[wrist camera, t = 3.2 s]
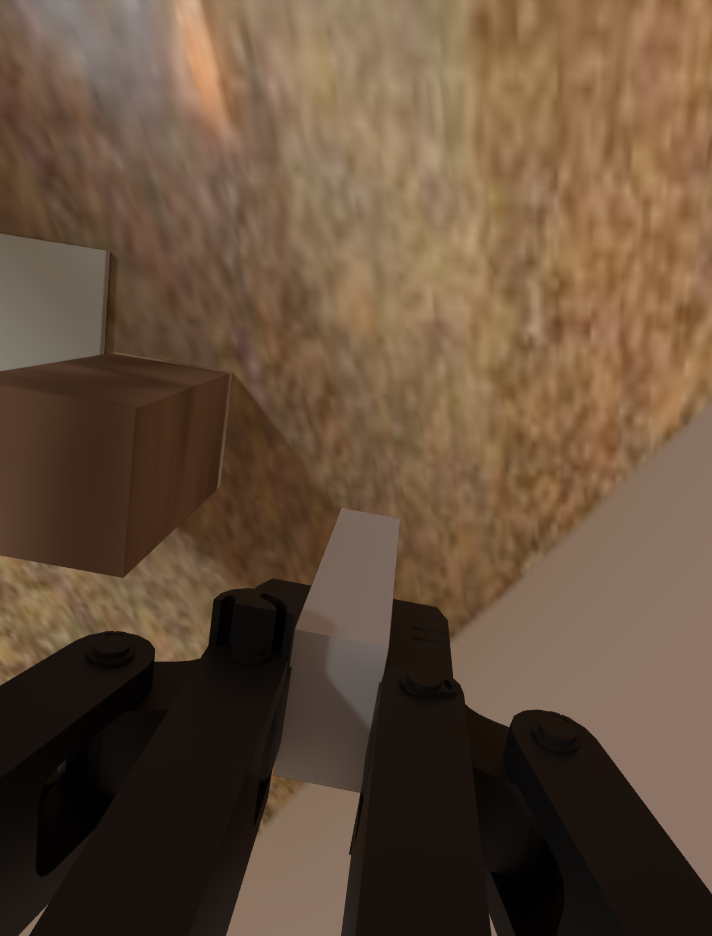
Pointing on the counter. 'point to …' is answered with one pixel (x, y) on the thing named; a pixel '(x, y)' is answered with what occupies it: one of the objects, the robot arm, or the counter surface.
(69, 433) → the block
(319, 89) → the counter surface
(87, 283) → the mat
